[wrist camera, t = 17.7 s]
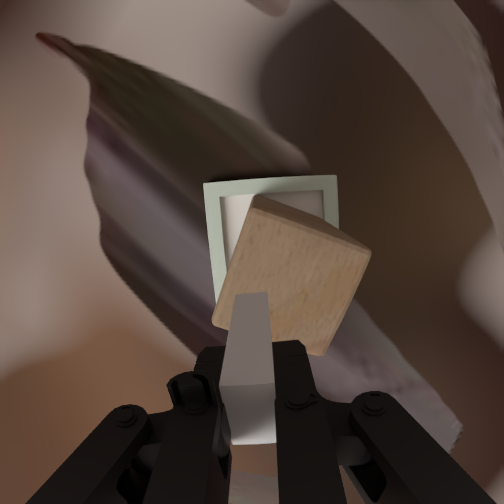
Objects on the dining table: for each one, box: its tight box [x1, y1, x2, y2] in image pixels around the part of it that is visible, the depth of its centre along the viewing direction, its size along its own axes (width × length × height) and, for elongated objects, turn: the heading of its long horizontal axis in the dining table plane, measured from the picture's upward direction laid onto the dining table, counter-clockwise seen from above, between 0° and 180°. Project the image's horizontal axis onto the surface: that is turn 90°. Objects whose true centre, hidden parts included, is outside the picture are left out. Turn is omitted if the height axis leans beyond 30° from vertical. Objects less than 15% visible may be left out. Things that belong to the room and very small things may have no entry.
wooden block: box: [212, 194, 371, 356], centre depth 31 cm, size 10×10×20 cm
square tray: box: [203, 175, 339, 304], centre depth 41 cm, size 18×18×2 cm
